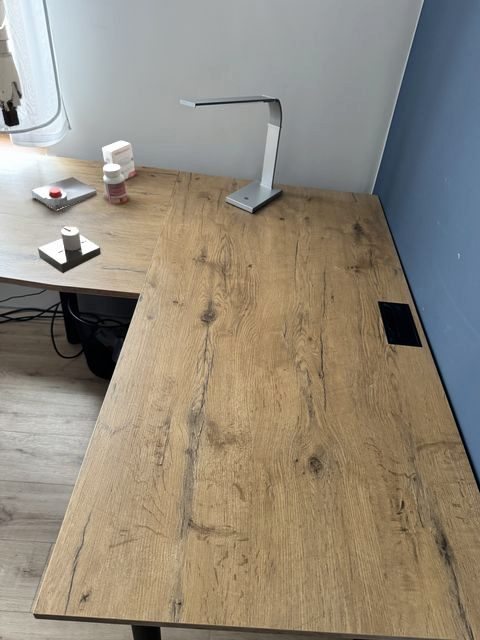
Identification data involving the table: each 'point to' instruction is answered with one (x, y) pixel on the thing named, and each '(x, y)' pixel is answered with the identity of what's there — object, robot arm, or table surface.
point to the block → (64, 193)
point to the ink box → (120, 157)
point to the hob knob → (71, 238)
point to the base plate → (68, 254)
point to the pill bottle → (114, 184)
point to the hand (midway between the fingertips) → (12, 124)
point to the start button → (55, 192)
